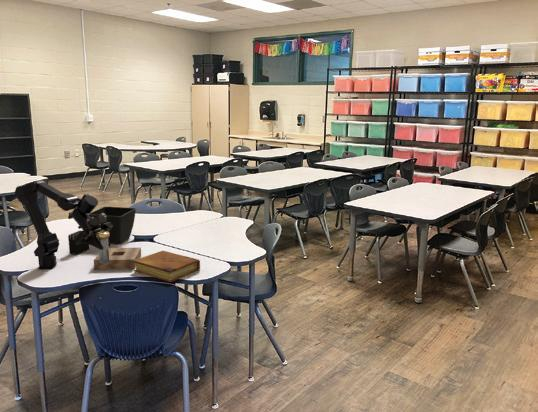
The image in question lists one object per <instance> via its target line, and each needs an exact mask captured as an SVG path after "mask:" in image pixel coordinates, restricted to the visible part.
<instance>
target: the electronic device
mask: <svg viewBox="0 0 538 412" xmlns="http://www.w3.org/2000/svg"><path fill="white" fill-rule="evenodd" d="M81 231H82V229H81V230H80V229H79V230H78V231H75V232H73V233H70V234H68V237H67V238H68V251H69V254H70V255H76V256H77V255H80V254H83V253H85V252H86V251H88V250H89V249H90V245H89V244H87V243H84V242H85V240H84V239H82V243H80V244H76V242H75V241H74V238H75V237H76V236H77V234H78V233H79V232H81Z"/></svg>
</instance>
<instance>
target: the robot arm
mask: <svg viewBox="0 0 538 412" xmlns="http://www.w3.org/2000/svg"><path fill="white" fill-rule="evenodd" d="M38 193H39V194H42V195H44V196H45V197H47V198H49V199H51V201H54V202H55V203H56V204H57V207H59V208H60V209H61V210H63V211H64V212H68V211H71V210H72V211H71V212H68V217H67V218H68V220H70V219H73V220H74V221H75V222H76V224H77V225H78V226H77V228H78V230H80V229H81V232H79V233H78V234H77V236H76V237H75V238H74V241H75V242H76V244H80V243H82V239H84V240H85V242H84V243H87V244H89V246H92V247H95V248H97V249H98V250H99V249H101V250H103V246H102V245H101V244H100V242H99V241H98V239H97V238H96V233H97V232H102V231H107V232H108V231H109V230H110V229H111V228H112V227H113V225H112V224H111V223H110V222H107V223H104V224H102V226H101V227H100V225H101V223H103V222H106V220H107V216H106V215H105V214H104V213H102V214H100V215H99V216H98V217H96V218H94V217H90V216H89V215H88V214H89V213H92V212H94V209H96V207H97V206H98V205H99V201H98V199H97V198H96V197H94V195H93V196H92V195H90V194H89V193H85V194H83V196H82V197H81V198H79V197H78V196H77V195H74V194H71V193H65V192H62V191H60V190H59V189H57V188H55V187H53V186H52V185H50V184H49V183H47V182H45V181H44V180H41V179H40V180H33V181H32V182H29V183H27V184H23V185H17V186H16V187H15V190H14V195H15V197H16V198H17V200H18V201H19V202H20V203H21V204H23V205H24V207H25V208H26V210H27V213H28V215H29V218H30V220H31V222H32V225H33V227H34V229H35V231H36V232H35V233H36V234H37V239H36V244H37V247H36V248H35V249H34V251H33V254H34V256H35V257H38V259H37V260H38V267H37V270H49V269H50V270H53V269H54V268H55V267H56V266H57V265H58V263H57V256H56V254H55V253H58V252H59V251H58V250H59V246H60V239H59V238H58V235H57V233H56V232H51V231H50V230H49V227H48V225H47V222H46V221H45V218H44V216H43V213H42V211H41V208H40V206H39V203H38V196H39V194H38ZM98 227H100V228H98ZM108 246H109V248H111V244H110V242H109V239H108Z"/></svg>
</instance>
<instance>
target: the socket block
mask: <svg viewBox="0 0 538 412" xmlns="http://www.w3.org/2000/svg"><path fill="white" fill-rule="evenodd" d="M139 258H142V247H109V262H108V263H104V264H103V263H100V261H99V253H98V254H97V255H96V256H95V258H94V259H93V270H95V271H96V270H99V271H100V270H136V263H134V260H136V259H139Z"/></svg>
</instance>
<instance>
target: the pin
mask: <svg viewBox="0 0 538 412" xmlns="http://www.w3.org/2000/svg"><path fill="white" fill-rule="evenodd" d="M96 237H97V238H98V241H99V242H100V244H101V245H102V246H103V250H101V249H98V254H99V261H100V263H103V264H104V263H108V262H109V248H110V247H109V246H108V237H109V232H107V231H102V232H97V233H96Z"/></svg>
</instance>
